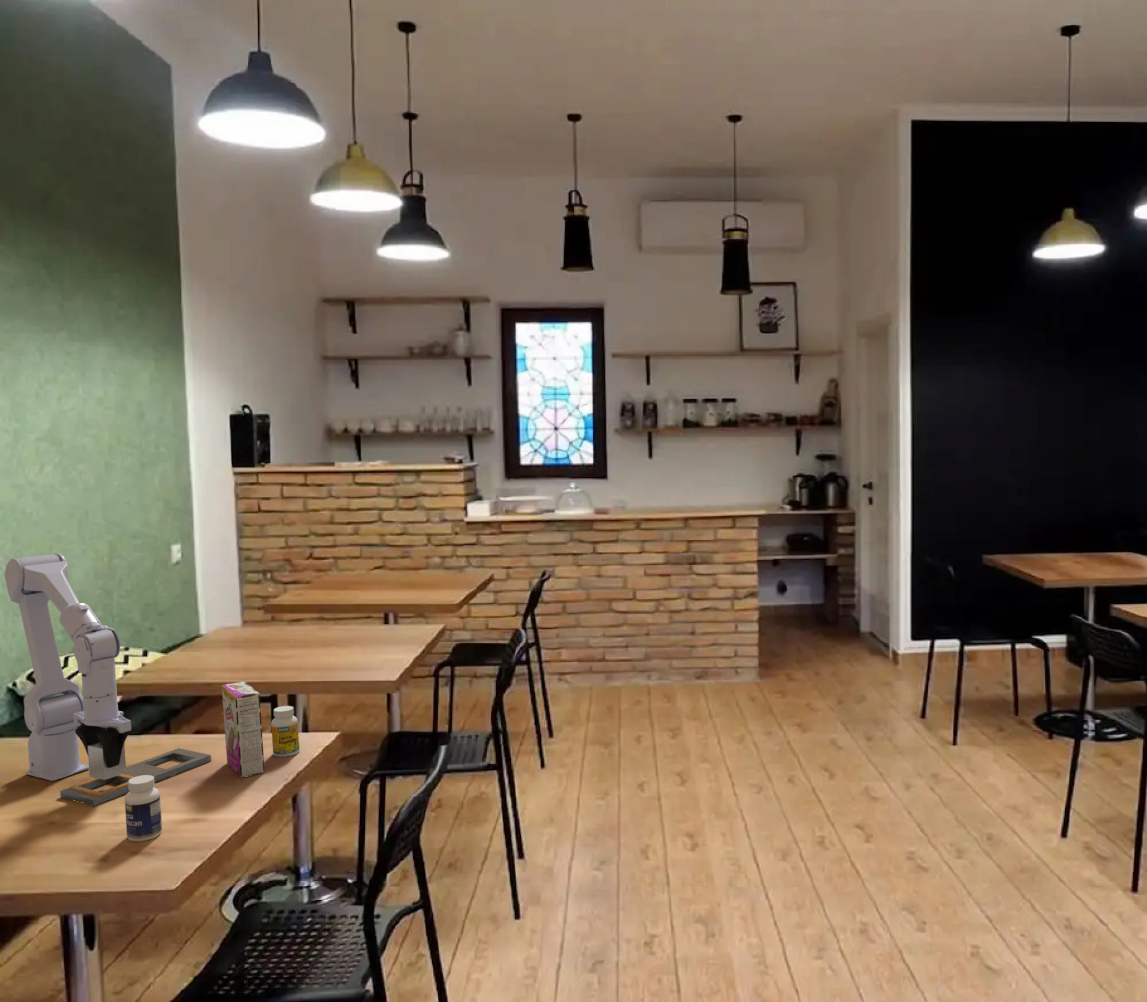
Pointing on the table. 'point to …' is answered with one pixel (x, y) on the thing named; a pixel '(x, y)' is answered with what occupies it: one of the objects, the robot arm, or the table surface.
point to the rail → (146, 767)
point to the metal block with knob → (103, 763)
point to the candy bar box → (243, 728)
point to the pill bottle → (142, 809)
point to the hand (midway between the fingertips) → (105, 764)
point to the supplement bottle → (285, 732)
